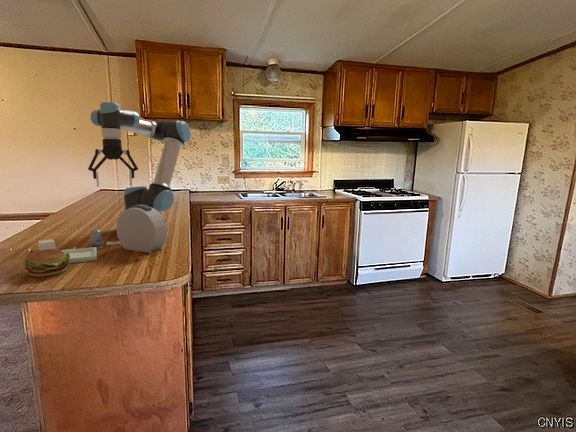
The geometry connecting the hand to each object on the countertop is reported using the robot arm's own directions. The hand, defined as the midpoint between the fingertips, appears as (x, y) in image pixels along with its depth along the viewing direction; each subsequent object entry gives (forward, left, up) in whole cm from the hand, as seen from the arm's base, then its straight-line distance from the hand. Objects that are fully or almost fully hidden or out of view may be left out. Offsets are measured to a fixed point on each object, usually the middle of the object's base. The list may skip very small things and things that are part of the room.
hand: (114, 186), depth 159 cm
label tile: (+2, +1, -27) cm, 27 cm away
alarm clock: (-9, +15, -27) cm, 32 cm away
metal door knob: (+9, +7, -27) cm, 29 cm away
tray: (+16, +19, -27) cm, 36 cm away
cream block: (+27, +7, -27) cm, 39 cm away
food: (+24, +34, -27) cm, 50 cm away
